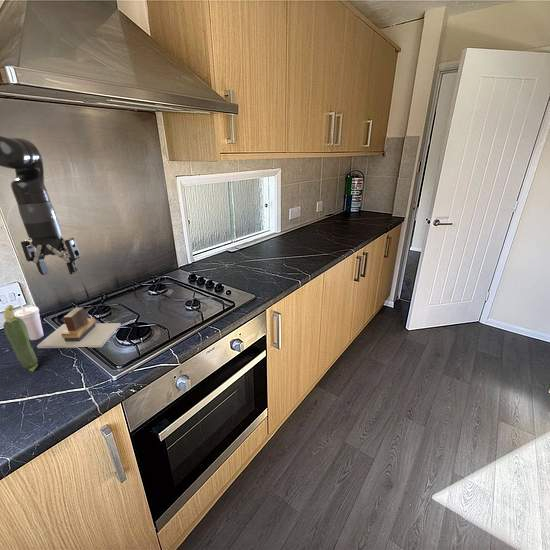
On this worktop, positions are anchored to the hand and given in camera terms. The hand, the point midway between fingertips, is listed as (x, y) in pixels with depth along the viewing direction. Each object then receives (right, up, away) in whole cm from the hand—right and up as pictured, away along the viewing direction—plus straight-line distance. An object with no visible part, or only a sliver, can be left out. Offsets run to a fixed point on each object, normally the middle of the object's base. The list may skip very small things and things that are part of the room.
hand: (59, 273), depth 86 cm
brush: (+1, -19, +9) cm, 21 cm away
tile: (+1, -20, +9) cm, 22 cm away
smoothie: (-14, -21, +9) cm, 27 cm away
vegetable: (-4, -27, -5) cm, 27 cm away
